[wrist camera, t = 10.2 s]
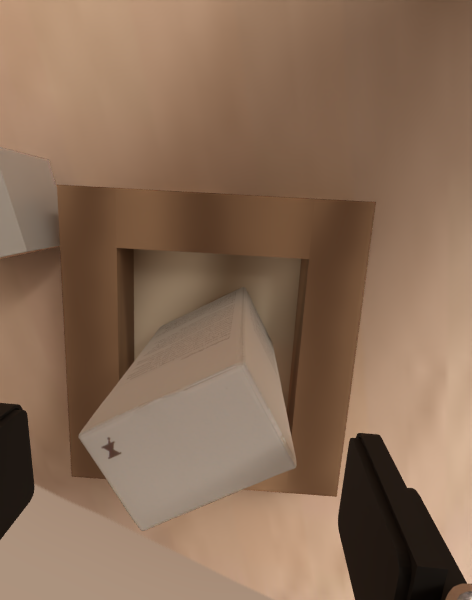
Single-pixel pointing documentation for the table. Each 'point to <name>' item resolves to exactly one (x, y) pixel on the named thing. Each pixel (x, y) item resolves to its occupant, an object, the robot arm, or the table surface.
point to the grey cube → (27, 204)
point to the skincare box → (194, 415)
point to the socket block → (209, 287)
